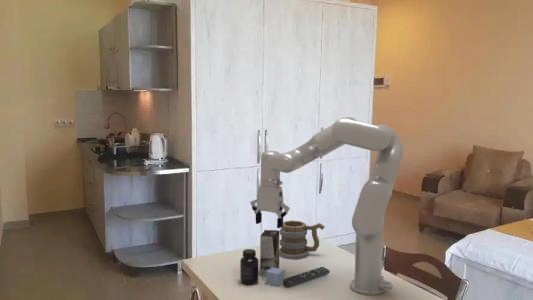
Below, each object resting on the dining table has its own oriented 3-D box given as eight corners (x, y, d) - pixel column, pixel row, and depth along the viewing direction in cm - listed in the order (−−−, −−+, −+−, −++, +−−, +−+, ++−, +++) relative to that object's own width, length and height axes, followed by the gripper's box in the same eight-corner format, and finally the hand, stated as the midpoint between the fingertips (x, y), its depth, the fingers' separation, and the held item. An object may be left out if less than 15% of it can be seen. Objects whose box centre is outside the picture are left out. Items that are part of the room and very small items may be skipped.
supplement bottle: (262, 281, 166) (262, 250, 164) (249, 287, 161) (249, 255, 159) (249, 276, 170) (249, 246, 169) (236, 281, 165) (236, 251, 164)
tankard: (275, 257, 191) (276, 224, 189) (283, 248, 203) (283, 216, 201) (321, 262, 185) (321, 228, 183) (326, 252, 197) (326, 220, 195)
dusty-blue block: (284, 282, 165) (284, 269, 164) (277, 287, 161) (277, 274, 160) (272, 279, 168) (272, 267, 167) (266, 284, 163) (266, 271, 163)
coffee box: (275, 277, 170) (276, 237, 168) (259, 275, 171) (259, 235, 169) (279, 268, 178) (280, 230, 177) (264, 267, 180) (264, 229, 178)
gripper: (294, 184, 169) (292, 226, 171) (256, 178, 178) (255, 219, 180) (285, 187, 163) (283, 231, 165) (246, 181, 172) (245, 223, 174)
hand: (269, 225), depth 173 cm, fingers open, 9 cm apart
